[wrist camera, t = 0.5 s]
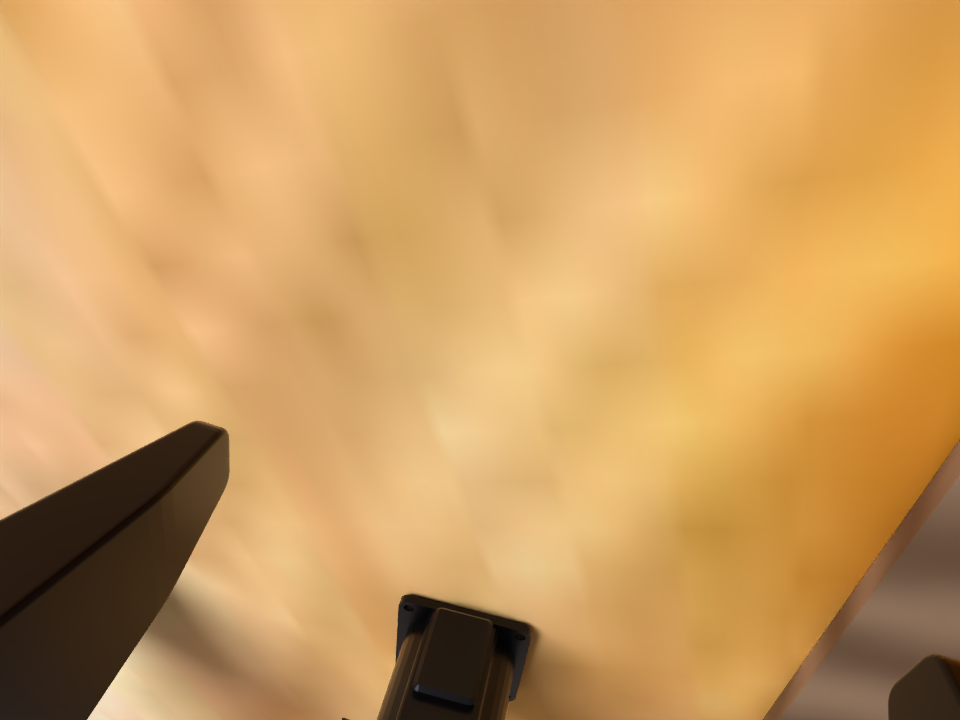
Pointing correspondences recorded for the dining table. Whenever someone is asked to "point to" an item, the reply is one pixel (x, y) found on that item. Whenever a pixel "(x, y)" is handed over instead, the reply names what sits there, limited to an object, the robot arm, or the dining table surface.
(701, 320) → the dining table surface
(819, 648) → the board
